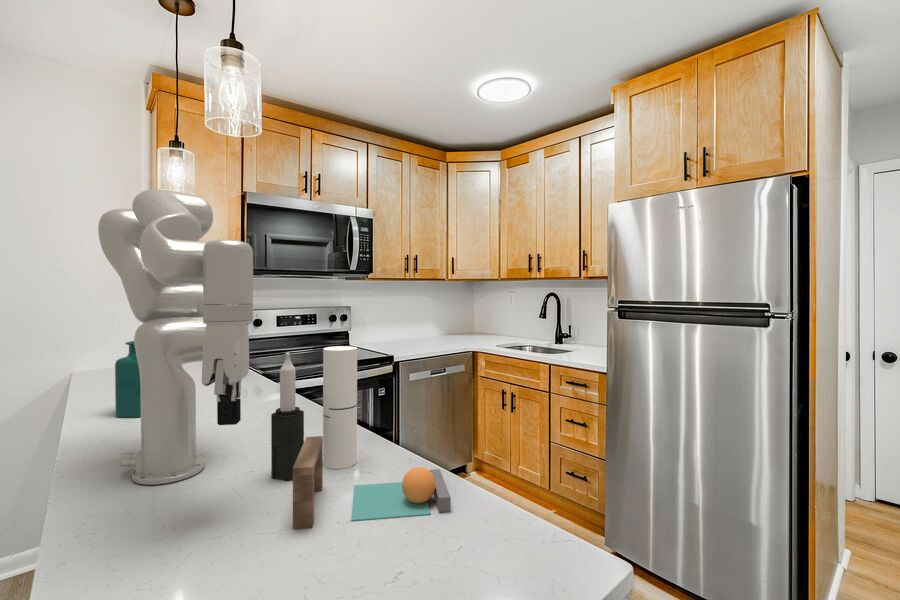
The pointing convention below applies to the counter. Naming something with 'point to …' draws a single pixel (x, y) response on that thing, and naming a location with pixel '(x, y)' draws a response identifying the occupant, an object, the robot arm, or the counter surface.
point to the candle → (286, 426)
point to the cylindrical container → (339, 406)
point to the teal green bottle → (127, 385)
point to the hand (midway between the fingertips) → (229, 423)
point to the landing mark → (384, 502)
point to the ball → (418, 485)
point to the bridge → (307, 481)
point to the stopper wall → (441, 492)
